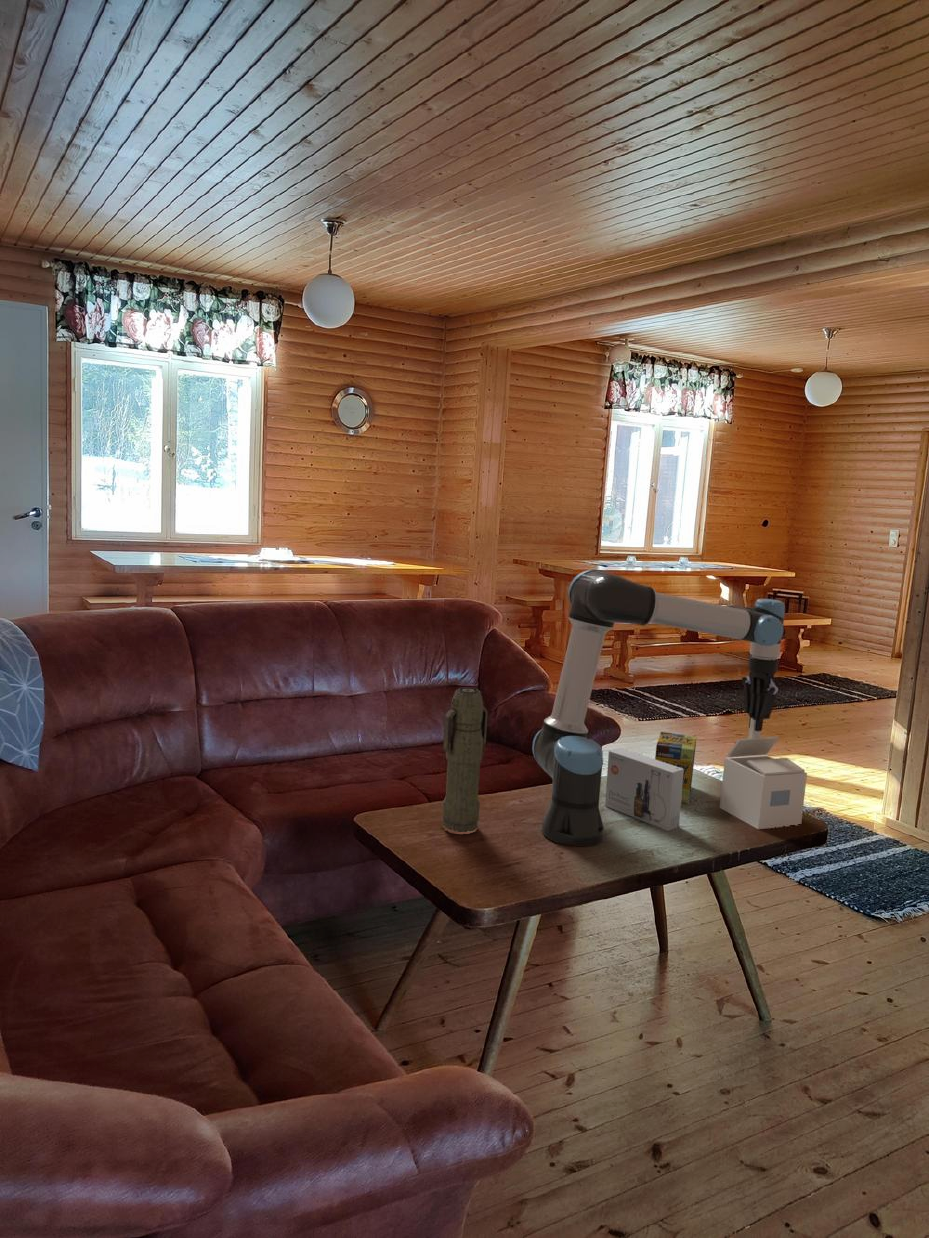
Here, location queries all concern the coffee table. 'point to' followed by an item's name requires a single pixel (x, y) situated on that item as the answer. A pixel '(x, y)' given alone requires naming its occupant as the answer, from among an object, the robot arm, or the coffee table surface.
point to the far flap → (752, 746)
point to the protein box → (678, 756)
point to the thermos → (464, 759)
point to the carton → (762, 794)
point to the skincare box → (644, 788)
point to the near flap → (775, 766)
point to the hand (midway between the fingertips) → (753, 741)
